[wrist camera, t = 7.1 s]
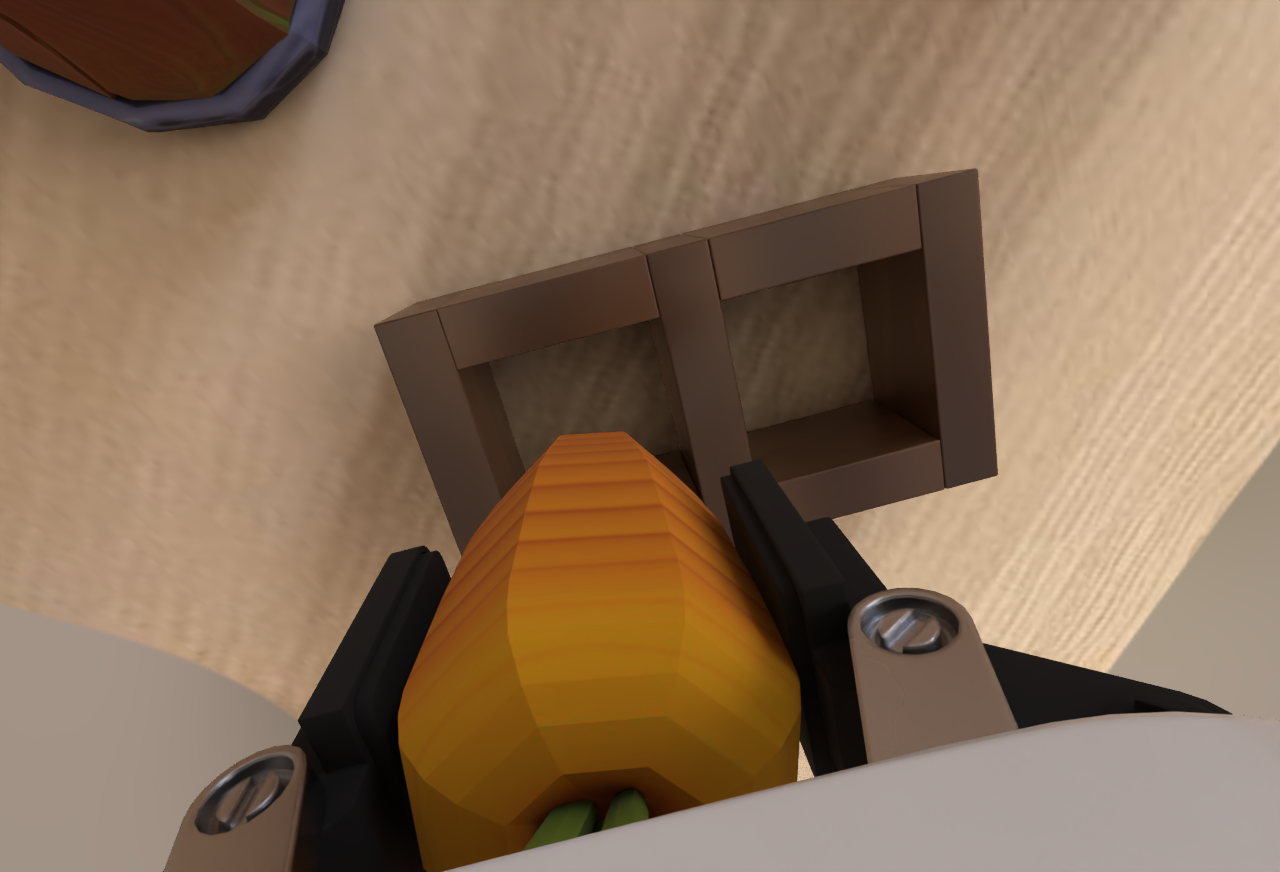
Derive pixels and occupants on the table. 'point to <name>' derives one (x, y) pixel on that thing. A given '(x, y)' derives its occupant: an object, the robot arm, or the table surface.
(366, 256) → the table surface
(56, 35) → the mug
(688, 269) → the holder
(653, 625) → the carrot
